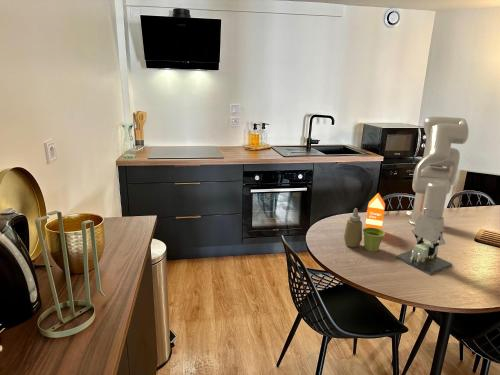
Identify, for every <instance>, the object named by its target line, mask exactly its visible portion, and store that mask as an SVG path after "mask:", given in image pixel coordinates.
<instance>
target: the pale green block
mask: <svg viewBox="0 0 500 375" xmlns="http://www.w3.org/2000/svg"><path fill="white" fill-rule="evenodd" d="M429 247H431V242H430V241H429V240H426V241H424V243H421V244H418V245H417V244H415V245H414V246H413V249H414V250H415V251H416V254H415V255H416V256H418V253H422V255H421V258H422V259H424V258H426V257H429V256H428V251H429ZM437 247H438V246H437ZM437 247H436V248H435V253H434V254H436V251H437ZM434 254H433V255H434ZM431 256H432V255H431Z"/></svg>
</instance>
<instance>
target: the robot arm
mask: <svg viewBox="0 0 500 375" xmlns="http://www.w3.org/2000/svg"><path fill="white" fill-rule="evenodd" d="M423 129H424V133H425V137H426V139H425V144H424V145H425V146H424V150H423V155H422V156H423V158H421V160H420V161H419V162H418V163H417V164H416V166H415V168H414V171H413V176H412V178H413V179H412V185H411V186H412V191H413V192H414V193H415V196H414V201H413V208H412V211H411V210H407V211H406V213H405V215H406V216H408V220H407V221H408V223H409V224H411V225H413V226H414V228H413V229H412V230H411V232H412V234H413V236H414V237H415V239H416V240H415V241H416V245H418V244H421V243H424V242H425V241H424V240H426V241H429V242H431V247H429V251H428V256H431V255H433V254H434V253H435V248H436V247H439V246H443V245H445V244H446V242H445V239H444V230H445V225H444V224H445V220H444V216H443V214H444V210H445V204H446V200H447V195H448V194H450V191H451V188H452V186H453V185H454V184H455V180H456V178H457V177H456V176H457V172H458V168H459V163H460V159H461V157H460V156H461V153H460V151H459V149H457V148H456V147H455V148H453V147H452V144H456V145H463V144H465V143H466V142H467V141H468V139H469V132H470V130H469V124H468V123H467V120H466V119H465V118H462V117H449V116H428V117H425V119H424V120H423Z"/></svg>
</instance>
